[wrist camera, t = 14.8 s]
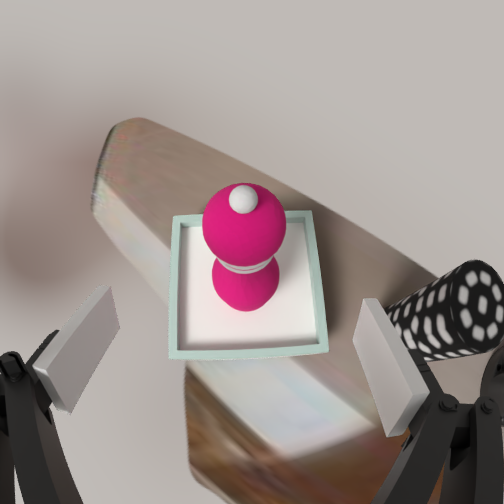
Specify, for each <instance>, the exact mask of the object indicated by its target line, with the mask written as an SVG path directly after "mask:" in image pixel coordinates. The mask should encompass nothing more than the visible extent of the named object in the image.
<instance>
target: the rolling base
mask: <svg viewBox="0 0 504 504" xmlns="http://www.w3.org/2000/svg"><path fill="white" fill-rule="evenodd" d="M284 212H285V216H286V234H285V237H284V240H283V242H282V245H281V246H280V248H279V250H278V251H277V252H276V253H275V254H274V257H275V259H276V261H277V263H278V266H279V271H280V276H279V284H278V287H277V290H276V292H275V293H274V295H273V296H272V297H271V298H270V299H269V301H267V302H266V303H265V304H264V305H263V306H262V307H260V308H259V309H256V310H254V311H249V312H244V311H238V310H235V309H233V308H232V307H230V306H229V305H228V304H227V303H226V302H224V301H223V300H222V299H221V298H220V297H219V296H218V294H217V293H216V291H215V289H214V286H213V281H212V268H213V264H214V261H215V259H216V256H215V255H214V254H213V253H212V252H211V250H210V249H209V247H208V246H207V244H206V242H205V240H204V236H203V231H202V218H203V214H198V215H181V216H173V226H172V241H171V258H170V280H169V332H168V333H169V335H168V336H169V359H172V360H234V359H257V358H274V357H287V356H299V355H310V354H319V353H325V352H329V346H328V335H327V324H326V315H325V305H324V297H323V288H322V280H321V272H320V265H319V257H318V250H317V243H316V236H315V230H314V223H313V217H312V211H311V210H303V211H284Z"/></svg>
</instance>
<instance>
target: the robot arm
mask: <svg viewBox="0 0 504 504" xmlns="http://www.w3.org/2000/svg"><path fill="white" fill-rule="evenodd" d="M119 329H120V326H119V322H118V318H117V314H116V309H115V304H114V300H113V295H112V290H111V287H110V286H101V285H99V286H98V287H97V288H96V289H95V290H94V291H93V292H92V293H91V295H90V296H89V297H88V298H87V299H86V300H85V301H84V302H83V304H82V305H81V306H80V307H79V308H78V309H77V311H76V312H75V313H74V314H73V315H72V316H71V318H70V319H69V320H68V321H67V322H66V324H65V325H64V326H63V327H62V329H61V330H55V331H54V332H52V333H51V334H49V335H48V336H47V338H46V339H45V340H44V341H43V343H42V344H41V345H40V346H39V349H37V350H36V351H35V352H34V354H33V355H32V356H31V357H30V359H29V360H28V361H27V363H26V364H24V362H23V360H22V358H21V356H20V354H19V353H17V352H14V351H11V352H7V353H4V354H3V355H2V356H0V373H1V374H0V504H15V487H14V486H15V485H14V465H15V469H16V474H17V478H18V483H19V486H20V490H21V493H22V497H23V501H24V504H83V502H82V499H81V497H80V495H79V492H78V490H77V488H76V485H75V483H74V480H73V478H72V475H71V473H70V470H69V467H68V464H67V462H66V459H65V456H64V453H63V450H62V447H61V444H60V441H59V437H58V434H57V430H56V427H55V423H54V419H53V415H52V412H51V410H50V408H49V406H50V404H51V403H52V402H53V404H54V406H55V407H56V408H57V410H58V411H61V412H64V413H67V414H71V413H72V411H73V409H74V407H75V405H76V403H77V401H78V399H79V398H80V396H81V394H82V392H83V391H84V389H85V387H86V385H87V383H88V382H89V379H90V378H91V376H92V374H93V373H94V371H95V369H96V367H97V366H98V364H99V362H100V360H101V359H102V357H103V355H104V354H105V352H106V350H107V348H108V347H109V345H110V344H111V342H112V340H113V339H114V337H115V335H116V334H117V332H118V330H119ZM352 341H353V343H354V346H355V349H356V351H357V354H358V356H359V359H360V362H361V365H362V367H363V370H364V373H365V375H366V378H367V381H368V384H369V387H370V389H371V392H372V395H373V398H374V401H375V404H376V407H377V410H378V412H379V415H380V418H381V421H382V425H383V428H384V431H385V434H386V437H392V436H397V435H402V434H403V433H404V432H405V430H406V429H407V427H409V430H410V432H411V434H410V435H409V436H408V438H407V439H406V440H405V442H404V443H403V444H402V446H401V447H403V448H402V450H401V452H400V454H399V456H398V458H397V460H396V462H395V463H394V465H393V467H392V469H391V471H390V472H389V474H388V476H387V478H386V479H385V481H384V483H383V484H382V486H381V488H380V489H379V491H378V492H377V494H376V496H375V497H374V499H373V500H372V502H371V503H370V504H427V502H428V500H429V498H430V496H431V494H432V491H433V489H434V487H435V484H436V482H437V480H438V477H439V475H440V472H441V470H442V467H443V464H444V462H445V466H444V474H443V482H442V489H441V495H440V501H439V504H503V492H504V458H503V440H502V429H501V427H504V347H502V348H500V349H499V350H498V351H496V353H495V354H494V355H493V356H492V358H491V359H490V361H489V363H488V365H487V367H486V370H485V372H484V376H483V379H482V384H481V392H480V397H479V398H478V399H477V400H476V402H475V403H474V404H460V403H459V401H458V400H457V399H456V398H455V397H454V396H452V395H450V394H445V393H444V392H443V391H442V389H441V387H440V385H439V383H438V382H437V380H436V378H435V376H434V374H433V373H432V371H431V369H430V367H429V366H428V365H427V362H426V361H425V359H424V357H423V356H422V355H421V354H420V353H419V352H418V351H417V350H415V349H408V350H407V349H406V347H405V345H404V343H403V342H402V340H401V338H400V336H399V335H398V333H397V331H396V329H395V328H394V326H393V324H392V323H391V321H390V319H389V318H388V316H387V314H386V313H385V311H384V309H383V308H382V306H381V304H380V303H379V301H378V300H377V298H363V302H362V306H361V310H360V314H359V318H358V322H357V325H356V329H355V333H354V336H353V340H352Z"/></svg>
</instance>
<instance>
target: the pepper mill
mask: <svg viewBox="0 0 504 504" xmlns="http://www.w3.org/2000/svg"><path fill="white" fill-rule="evenodd" d="M202 231H203V236H204V240H205V242H206V244H207V246H208V247H209V249H210V250H211V252H212V253H213V254H214V255H215V256H216V259H215V261H214V264H213V268H212V281H213V286H214V289H215V291H216V293H217V294H218V296H219V297H220V298H221V299H222V300H223V301H224V302H226V303H227V304H228V305H229V306H230V307H232V308H233V309H235V310H238V311H244V312H249V311H254V310H256V309H259V308H260V307H262V306H263V305H264V304H265V303H266V302H267V301H269V299H270V298H271V297H272V296H273V295H274V293H275V292H276V290H277V287H278V284H279V276H280V271H279V266H278V263H277V261H276V259H275V257H274V254H275V253H276V252H277V251H278V250H279V248H280V246H281V245H282V242H283V240H284V237H285V234H286V216H285V212H284V209H283V207H282V205H281V204H280V202H279V200H278V199H277V198H276V197H275V195H273V194H272V193H271V192H270V191H268V190H267V189H265V188H263V187H261V186H259V185H256V184H251V183H239V184H233V185H230V186H227V187H225V188H224V189H222V190H220V191H219V192H217V193H216V194H215V195H214V196H213V197H212V198H211V199H210V201H209V202H208V204H207V206H206V208H205V211H204V213H203V218H202Z"/></svg>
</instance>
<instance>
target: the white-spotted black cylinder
mask: <svg viewBox="0 0 504 504" xmlns="http://www.w3.org/2000/svg"><path fill="white" fill-rule="evenodd" d="M384 311H385V313H386V314H387V316H388V318H389V319H390V321H391V323H392V324H393V326H394V328H395V329H396V331H397V333H398V335H399V336H400V338H401V340H402V342H403V343H404V345H405V347H406V349H407V350H408V349H415V350H417V351H418V352H419V353H420V354H421V355H422V356H423V357H424V359H425V361H426V362H431V361H438V360H445V359H452V358H458V357H464V356H470V355H475V354H480V353H486V352H489V351H491V350H493V349H494V348H496V347H497V346H498V345H499V344H500V342H501V341H502V339H503V338H504V284H503V282H502V280H501V278H500V276H499V275H498V273H497V272H496V271H495V270H494V269H493V268H492V267H491V266H490V265H488V264H487V263H485V262H483V261H480V260H470V261H467V262H465V263H463V264H462V265H460V266H458V267H457V268H455V269H454V270H452V271H450V272H449V273H447V274H446V275H444V276H442V277H440V278H439V279H437V280H435V281H434V282H432V283H430V284H428V285H427V286H425V287H423V288H421V289H420V290H418V291H416V292H414V293H413V294H411V295H409V296H407V297H405V298H403V299H402V300H400V301H398V302H396V303H394V304H392V305H390V306H388V307H386V308H385V309H384Z"/></svg>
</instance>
